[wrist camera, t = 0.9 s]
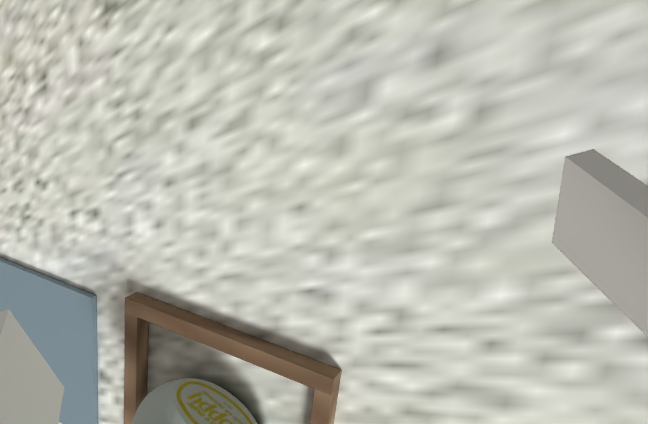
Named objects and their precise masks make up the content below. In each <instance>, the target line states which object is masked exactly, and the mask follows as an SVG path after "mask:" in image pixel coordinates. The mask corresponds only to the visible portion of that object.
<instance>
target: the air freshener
mask: <svg viewBox="0 0 648 424" xmlns="http://www.w3.org/2000/svg"><path fill="white" fill-rule="evenodd" d="M132 424H257V422H256V420H255V419H254V417H253V416H252V414H251V413H250V412H249V411H248V409H247V408H246V407H245V406H244V405H243V404H242V403H241V402H240V401H239V400H238V399H237V398H236V397H234V396H233V395H232V394H230V393H229V392H228V391H226V390H224V389H223V388H221V387H219V386H217V385H215V384H213V383H211V382H208V381H205V380H201V379H196V378H181V379H176V380H171V381H168V382H166V383H164V384H162V385H160V386H158V387H156V388H155V389H154V390H153V391H151V392H150V393H149V394H148V395H147V396H146V397H145V398H144V400H143V401H142V402H141V404H140V405H139V407H138V409H137V411H136V413H135V416H134V418H133V421H132Z"/></svg>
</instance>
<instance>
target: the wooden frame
mask: <svg viewBox="0 0 648 424" xmlns="http://www.w3.org/2000/svg"><path fill="white" fill-rule="evenodd" d="M148 322H151V323H153V324H156V325H158V326H161V327H163V328H165V329H168V330H170V331H173V332H175V333H178V334H180V335H183V336H185V337H188V338H190V339H193V340H195V341H198V342H200V343H203V344H205V345H207V346H210V347H212V348H215V349H217V350H220V351H222V352H225V353H227V354H230V355H232V356H235V357H237V358H240V359H242V360H245V361H247V362H250V363H252V364H254V365H257V366H259V367H262V368H264V369H267V370H269V371H272V372H274V373H277V374H279V375H282V376H284V377H287V378H289V379H292V380H294V381H296V382H299V383H301V384H304V385H306V386H309V387H311V388H314V389H315V390H314V397H313V405H312V412H311V420H310V424H334V417H335V410H336V404H337V397H338V390H339V384H340V377H341V370H340V369H337V368H334V367H332V366H329V365H327V364H324V363H321V362H319V361H316V360H313V359H311V358H308V357H306V356H303V355H300V354H298V353H295V352H292V351H290V350H287V349H285V348H282V347H279V346H277V345H274V344H271V343H269V342H266V341H264V340H261V339H258V338H256V337H253V336H250V335H248V334H245V333H243V332H240V331H237V330H235V329H232V328H229V327H227V326H224V325H222V324H219V323H216V322H214V321H211V320H208V319H206V318H203V317H201V316H198V315H195V314H193V313H190V312H187V311H185V310H182V309H180V308H177V307H174V306H172V305H169V304H166V303H164V302H161V301H159V300H156V299H153V298H151V297H148V296H145V295H143V294H140V293H138V292H136V293H134V294H132V295H130V296H128V297H126V298H125V385H124V424H132V421H133V418H134V416H135V413H136V411H137V409H138V407H139V405H140V404H141V402H142V401H143V400H144V398H145V397H146V396H147V359H148Z"/></svg>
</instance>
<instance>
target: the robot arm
mask: <svg viewBox="0 0 648 424" xmlns="http://www.w3.org/2000/svg"><path fill="white" fill-rule="evenodd" d="M552 243H553V244H554V245H555V246H556V247H557V248H558V249H559V250H560V251H561V252H562V253H563V254H564V255H565V256H566V257H567V258H568V259H569V260H570V261H571V262H572V263H573V264H574V265H575V266H576V267H577V268H578V269H579V270H580V271H581V272H582V273H583V274H584V275H585V276H586V277H587V278H588V279H589V280H590V281H591V282H592V283H593V284H594V285H595V286H596V287H597V288H598V289H599V290H600V291H601V292H602V293H603V294H604V295H605V296H606V297H607V298H608V299H610V300H611V301H612V302H613V303H614V304H615V305H616V306H617V307H618V308H619V309H620V310H621V311H622V312H623V313H624V314H625V315H626V316H627V317H628V318H629V319H630V320H631V321H632V322H633V323H634V324H635V325H636V326H637V327H638V328H639V329H640V330H641V331H642V332H643V333H644V334H645V335H646V336H647V337H648V186H647V185H646V184H644V183H643V182H641V181H640V180H638V179H637V178H635V177H634V176H632V175H631V174H629V173H628V172H626V171H625V170H623V169H622V168H621V167H619V166H618V165H616V164H615V163H613V162H612V161H610V160H609V159H607V158H606V157H604V156H603V155H601V154H600V153H598V152H597V151H595V150H594V149H592V150H588V151H585V152H581V153H577V154H574V155H570V156H566V157H565V162H564V169H563V175H562V181H561V188H560V194H559V200H558V207H557V213H556V219H555V226H554V232H553V238H552ZM63 393H64V386H63V385H62V383H61V382H60V380H59V379H58V378H57V376H56V375H55V373H54V372H53V371H52V369H51V368H50V366H49V365H48V363H47V362H46V361H45V359H44V358H43V356H42V355H41V354H40V352H39V351H38V349H37V348H36V347H35V345H34V344H33V342H32V341H31V340H30V338H29V337H28V335H27V334H26V333H25V331H24V330H23V328H22V327H21V326H20V324H19V323H18V321H17V320H16V318H15V317H14V316H13V314H12V313H11V311H10V310H9V309H8V310H4V311H0V424H58V423H59V417H60V411H61V405H62V399H63Z"/></svg>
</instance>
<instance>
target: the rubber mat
mask: <svg viewBox="0 0 648 424" xmlns="http://www.w3.org/2000/svg"><path fill="white" fill-rule="evenodd" d="M8 309H9V310H10V311H11V313H12V314H13V316H14V317H15V318H16V320H17V321H18V323H19V324H20V326H21V327H22V328H23V330H24V331H25V333H26V334H27V335H28V337H29V338H30V340H31V341H32V342H33V344H34V345H35V347H36V348H37V349H38V351H39V352H40V354H41V355H42V356H43V358H44V359H45V361H46V362H47V363H48V365H49V366H50V368H51V369H52V371H53V372H54V373H55V375H56V376H57V378H58V379H59V380H60V382H61V383H62V385H63V386H64V393H63V399H62V405H61V411H60V417H59V422H61V423H63V424H98V387H97V302H96V295H93V294H91V293H88V292H86V291H83V290H81V289H78V288H76V287H73V286H71V285H68V284H66V283H63V282H61V281H58V280H56V279H53V278H51V277H48V276H46V275H43V274H41V273H38V272H36V271H33V270H31V269H28V268H26V267H23V266H21V265H18V264H16V263H13V262H11V261H8V260H6V259H3V258H1V257H0V311H4V310H8Z"/></svg>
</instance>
